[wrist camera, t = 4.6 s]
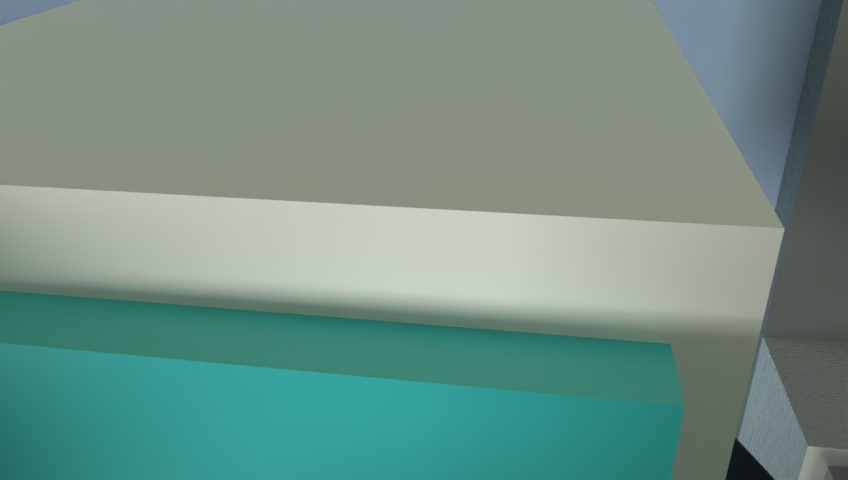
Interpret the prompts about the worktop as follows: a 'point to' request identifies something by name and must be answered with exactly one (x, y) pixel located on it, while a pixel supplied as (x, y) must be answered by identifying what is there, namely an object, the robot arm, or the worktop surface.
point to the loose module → (370, 244)
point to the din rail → (808, 284)
